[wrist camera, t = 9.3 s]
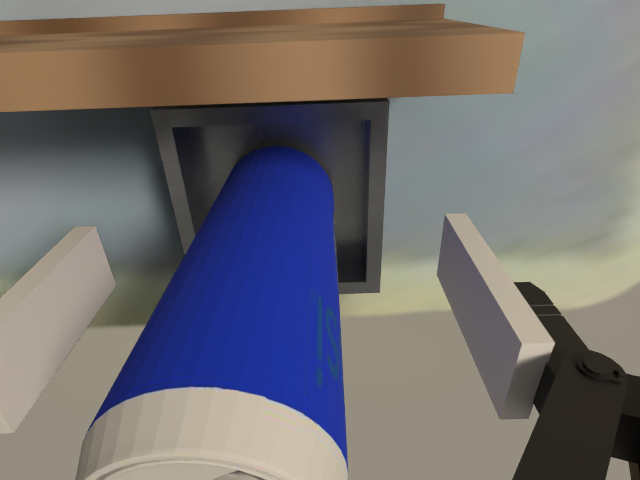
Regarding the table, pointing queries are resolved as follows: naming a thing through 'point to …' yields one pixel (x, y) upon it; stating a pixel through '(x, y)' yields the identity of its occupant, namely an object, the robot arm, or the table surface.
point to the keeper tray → (294, 132)
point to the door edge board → (251, 58)
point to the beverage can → (238, 344)
